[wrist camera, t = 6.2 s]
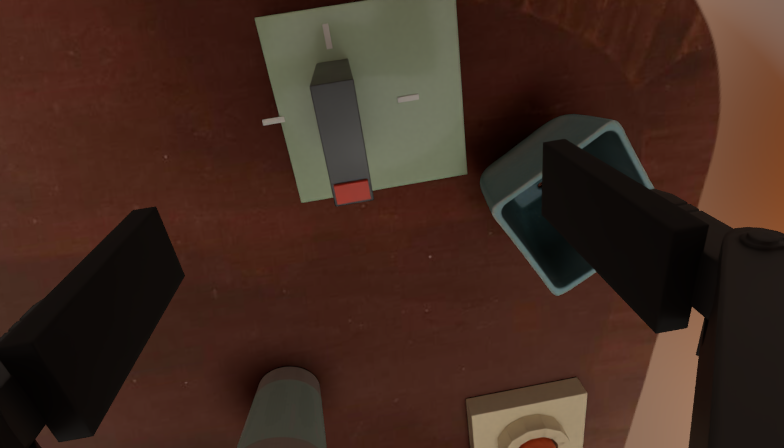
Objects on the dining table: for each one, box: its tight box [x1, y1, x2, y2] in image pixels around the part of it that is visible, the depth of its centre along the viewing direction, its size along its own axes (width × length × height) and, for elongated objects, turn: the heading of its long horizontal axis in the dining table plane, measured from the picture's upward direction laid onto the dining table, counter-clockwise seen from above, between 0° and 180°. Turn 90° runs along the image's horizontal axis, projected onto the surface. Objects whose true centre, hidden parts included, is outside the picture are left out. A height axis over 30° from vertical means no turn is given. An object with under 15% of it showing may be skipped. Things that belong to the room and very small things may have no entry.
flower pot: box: [480, 114, 654, 296], centre depth 31 cm, size 9×9×9 cm
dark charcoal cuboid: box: [310, 59, 374, 206], centre depth 25 cm, size 6×2×9 cm, turn 8°
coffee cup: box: [237, 367, 327, 448], centre depth 37 cm, size 8×9×12 cm
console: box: [255, 0, 467, 203], centre depth 30 cm, size 13×12×3 cm
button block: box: [466, 377, 587, 448], centre depth 47 cm, size 12×10×4 cm
